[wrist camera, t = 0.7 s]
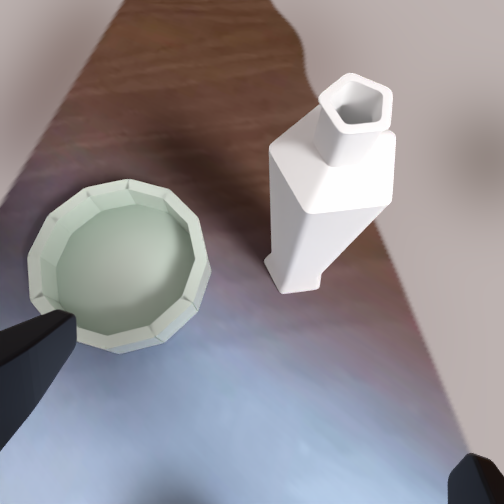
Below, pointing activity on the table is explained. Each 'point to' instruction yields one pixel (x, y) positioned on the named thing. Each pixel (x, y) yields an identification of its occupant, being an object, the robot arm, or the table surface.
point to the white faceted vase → (329, 180)
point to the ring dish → (121, 264)
